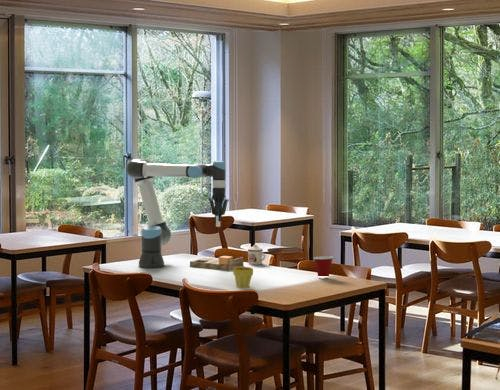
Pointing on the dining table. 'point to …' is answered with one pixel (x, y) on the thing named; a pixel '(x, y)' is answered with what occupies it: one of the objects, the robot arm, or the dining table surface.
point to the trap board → (216, 263)
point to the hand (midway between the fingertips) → (218, 226)
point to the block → (225, 260)
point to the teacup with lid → (255, 255)
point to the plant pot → (243, 276)
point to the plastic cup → (323, 265)
